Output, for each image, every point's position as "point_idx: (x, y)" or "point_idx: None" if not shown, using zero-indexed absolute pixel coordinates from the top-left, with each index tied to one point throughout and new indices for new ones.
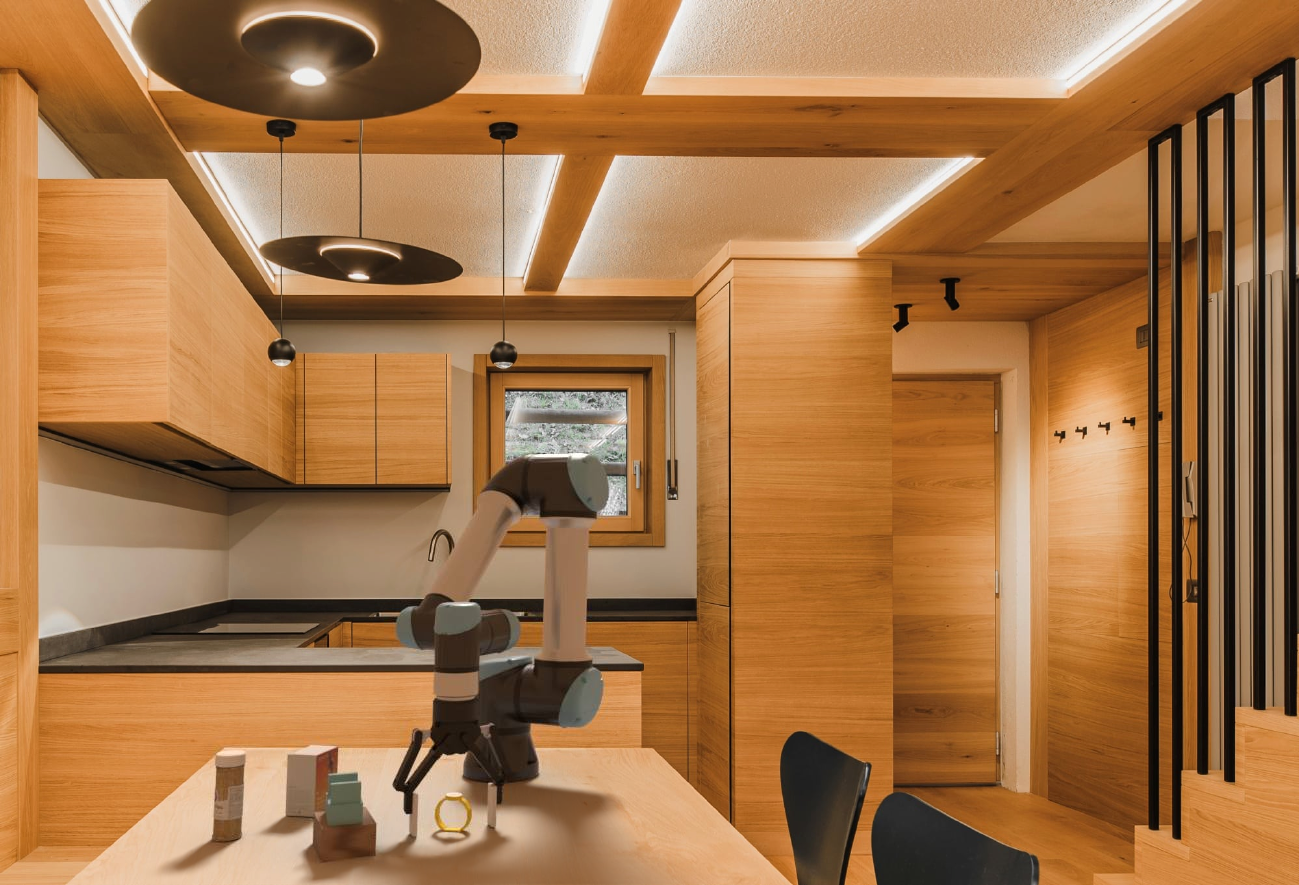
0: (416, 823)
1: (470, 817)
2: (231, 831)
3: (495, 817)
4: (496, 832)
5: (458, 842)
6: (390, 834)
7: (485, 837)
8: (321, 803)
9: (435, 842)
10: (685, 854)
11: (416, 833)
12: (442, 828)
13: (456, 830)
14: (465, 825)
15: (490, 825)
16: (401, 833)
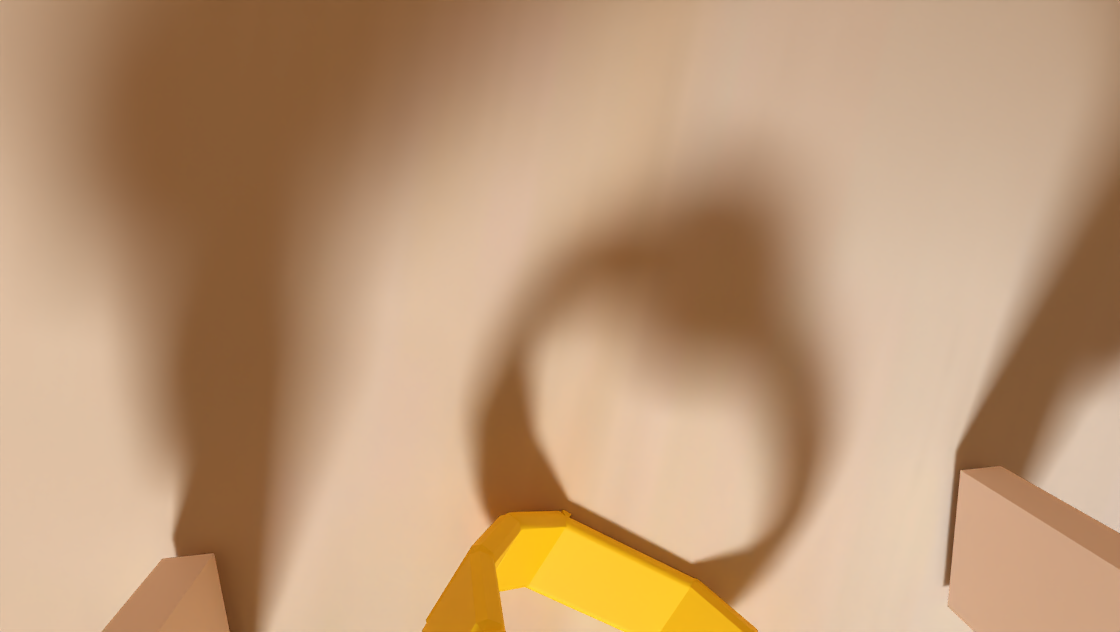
0: (1072, 529)
1: (449, 587)
2: None
3: (115, 626)
4: (180, 406)
5: (636, 190)
6: None
7: (327, 268)
8: None
9: (843, 269)
10: None
11: (984, 479)
12: (711, 599)
13: (589, 535)
14: (512, 519)
15: (219, 595)
16: None
